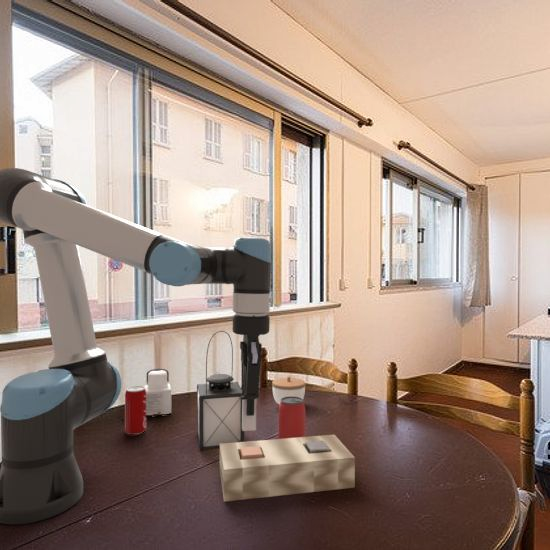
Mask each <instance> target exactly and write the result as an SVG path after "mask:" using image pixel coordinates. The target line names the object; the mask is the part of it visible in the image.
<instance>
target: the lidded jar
mask: <svg viewBox="0 0 550 550" xmlns="http://www.w3.org/2000/svg"><path fill="white" fill-rule="evenodd" d="M271 384H272V396H273V398H274V401H275V402H276V403H277V405H280V402H281V399H282V398H284V397H289V396H294V397H300V398H302V399H303V400H304V398H305V394H306V393H305V392H306V382H305V380H304V379H301V378H298V377H297V378H295V377H291V376H287V377H281V378H276V379H273V380H272V381H271Z"/></svg>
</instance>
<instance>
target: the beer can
mask: <svg viewBox="0 0 550 550" xmlns="http://www.w3.org/2000/svg"><path fill="white" fill-rule="evenodd" d="M304 402H305V401H304V398H303V399H302V398H300V397H294V396H289V397H284V398H282V399H281V402H280V405H279V404H278V405H279V406H278V439H285V438H297V437H306V406H305V403H304Z"/></svg>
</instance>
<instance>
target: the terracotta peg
mask: <svg viewBox="0 0 550 550" xmlns="http://www.w3.org/2000/svg"><path fill="white" fill-rule="evenodd" d="M254 458H263V454H262V452H261V449H260V446H252V447H240V460H242V459H254Z"/></svg>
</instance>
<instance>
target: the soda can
mask: <svg viewBox="0 0 550 550" xmlns="http://www.w3.org/2000/svg"><path fill="white" fill-rule="evenodd" d="M146 430H147V417H146V389H145V385H144V386H143V385H134V386H130V387H129V386H128V387H127V388H126V389H125V394H124V432H125V433H126V434H127V433H128V434H139V433H142V432H144V431H145V432H146ZM145 432H144V433H145ZM128 434H127V435H128ZM142 434H143V433H142ZM139 435H140V434H139Z"/></svg>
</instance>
